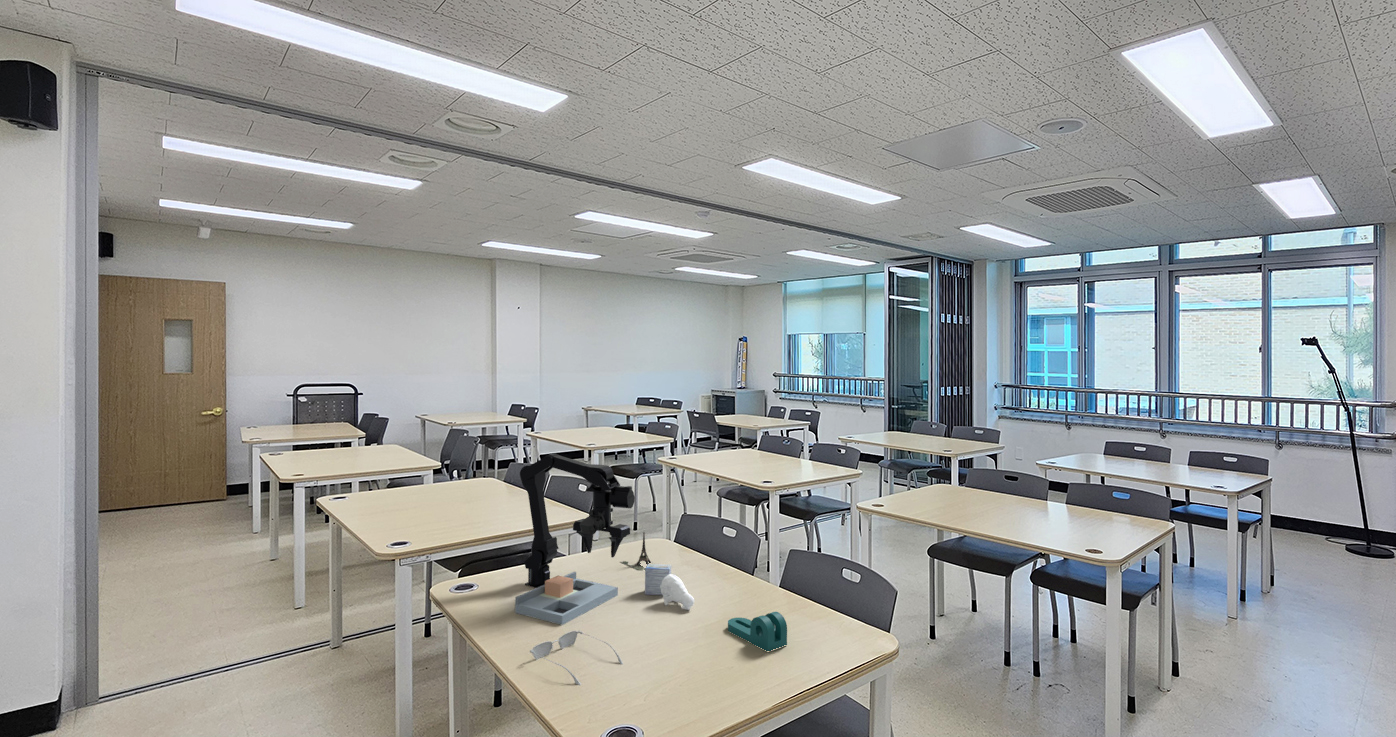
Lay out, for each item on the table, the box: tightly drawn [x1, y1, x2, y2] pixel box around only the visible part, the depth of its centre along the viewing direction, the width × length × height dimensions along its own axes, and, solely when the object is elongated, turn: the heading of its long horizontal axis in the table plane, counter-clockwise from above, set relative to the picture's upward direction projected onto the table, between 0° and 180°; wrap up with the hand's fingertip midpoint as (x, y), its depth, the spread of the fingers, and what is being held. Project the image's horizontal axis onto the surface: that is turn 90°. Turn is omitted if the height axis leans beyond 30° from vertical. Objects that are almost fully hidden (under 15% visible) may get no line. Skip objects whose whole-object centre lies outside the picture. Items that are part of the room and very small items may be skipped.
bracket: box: [727, 611, 788, 652], centre depth 168 cm, size 18×7×8 cm, turn 37°
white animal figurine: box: [660, 573, 695, 611], centre depth 190 cm, size 6×8×12 cm
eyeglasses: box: [529, 630, 624, 686], centre depth 152 cm, size 15×18×4 cm
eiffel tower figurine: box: [620, 531, 652, 572], centre depth 229 cm, size 15×10×13 cm
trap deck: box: [514, 571, 619, 626], centre depth 190 cm, size 18×26×4 cm, turn 152°
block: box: [545, 575, 573, 598], centre depth 192 cm, size 6×6×4 cm
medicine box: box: [644, 563, 672, 596], centre depth 200 cm, size 8×4×9 cm, turn 84°
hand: (600, 555), depth 199 cm, fingers open, 9 cm apart
